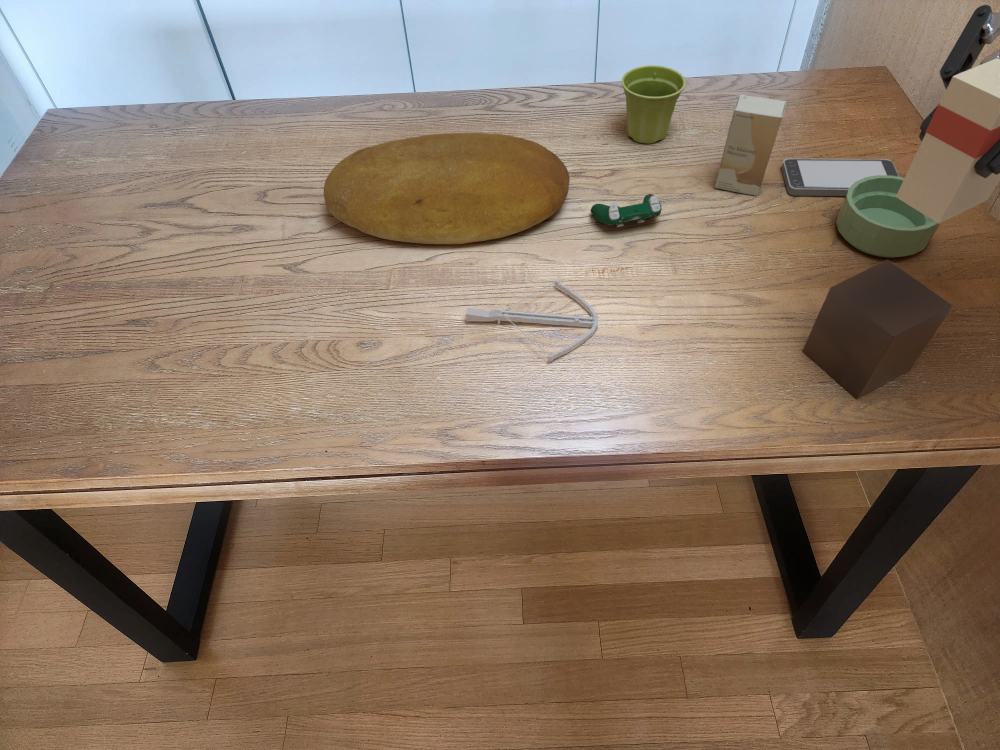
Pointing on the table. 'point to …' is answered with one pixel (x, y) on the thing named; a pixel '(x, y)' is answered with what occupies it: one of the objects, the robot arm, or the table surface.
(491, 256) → the table surface
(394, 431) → the table surface
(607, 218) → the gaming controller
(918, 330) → the block
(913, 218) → the bowl
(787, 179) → the smartphone
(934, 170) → the snack carton
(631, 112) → the plant pot
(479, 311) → the crossbow
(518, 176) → the bread
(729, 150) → the cosmetic box
